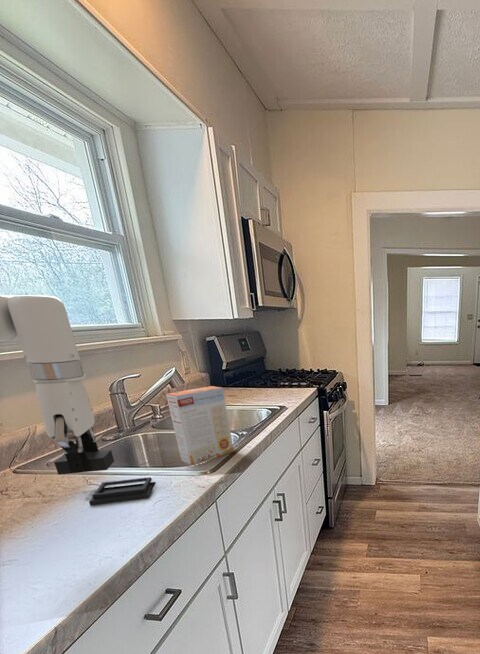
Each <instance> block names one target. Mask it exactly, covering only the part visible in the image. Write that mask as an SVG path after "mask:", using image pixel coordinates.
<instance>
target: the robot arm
mask: <svg viewBox="0 0 480 654" xmlns="http://www.w3.org/2000/svg"><path fill="white" fill-rule="evenodd" d="M8 342H19V344H20V347H21V350H22V353H23V356H24V359H25V361H26V364H27V367H28V371H29V373H30V376H31V379H32V382H33V383H35V392H36V398H37V403H38V406H39V411H40V414H41V417H42V422H43V425H44V428H45V432H46V435H47V436H48V438H49V439H55V443H56V444H57V445H58V446H60V448H61V450H62V452H63V455H64V454H65V455H66V459H67V462H68V465H69V468H70V471H71V472H72V473H71V474H78V473H88V472H89V471H91V466H90V463H89V459H88V456H87V453H86V452H93V451H100V450H99V447H98V444H97V439H96V438H97V437H96V435H95V433H94V428H93V427H94V426H95V423H96V419H95V414H94V411H93V407H92V405H91V401H90V397H89V395H88V392H87V390H86V387H85V384H84V382H83V380H84V379H86V375H85V371H84V369H83V365H82V362H81V359H80V355H79V351H78V347H77V344H76V341H75V337H74V333H73V330H72V326H71V322H70V319H69V316H68V312H67V310H66V306H65V304H64V302H63V301H62V300H61V299H59V297H56V296H52V295H33V294H32V295H30V294H29V295H28V294H27V295H10V294H9V295H7V294H0V343H8ZM70 433H72V435H68V434H70ZM74 441H75V442H74ZM91 472H92V471H91Z"/></svg>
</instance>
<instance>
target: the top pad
mask: <svg viewBox="0 0 480 654" xmlns="http://www.w3.org/2000/svg"><path fill="white" fill-rule="evenodd" d="M86 453H87V456H88V459H89V463H90V466H91V471H89V472H90V473H91V472H99V471H108V469H109V468H111V466H112V465H113V464H114V462H115V460H114V455H113V452H112V449H106V450H99V451H93V452H86ZM53 463H54V466H55V469H56V472H57V474H58V475H68V474H73V473H72V472H71V471H70V468H69V465H68V462H67V459H66V455H65V454H64V453H63V455H61V456H60V457H58V459H56V460H55V461H53Z"/></svg>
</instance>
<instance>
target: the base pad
mask: <svg viewBox="0 0 480 654" xmlns="http://www.w3.org/2000/svg"><path fill="white" fill-rule="evenodd" d="M151 480H152V477H151V476H150V477H149V476H148V477H140V478H131V479H123V480H122V479H121V480H114V481H105V482H101V484H100V485H99V486H98V488H97V489H96V490H95V491H94V493H92V497H91V498H90V499H89V501H88V503H89V505H90V506H96V505H102V504H103V505H104V504H113V503H120V502H127V501H137V500H142V499H149V498H150V496H151V493H152V492H153V490H154V488H155V486H156V483H157V482H156V481H153V482H152V481H151ZM137 482H139V483H137ZM140 482H143V483H140ZM127 483H129V484H127ZM130 483H135V484H130ZM120 484H121V485H120ZM122 484H126V485H122ZM111 485H118V486H111ZM106 486H109V487H106Z"/></svg>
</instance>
